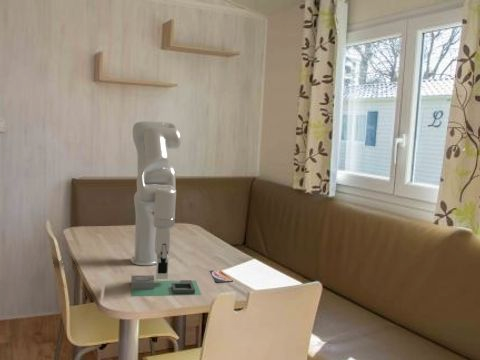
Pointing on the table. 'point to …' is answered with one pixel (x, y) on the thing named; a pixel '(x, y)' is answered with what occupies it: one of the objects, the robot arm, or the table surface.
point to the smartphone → (220, 277)
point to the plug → (161, 275)
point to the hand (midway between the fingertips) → (162, 270)
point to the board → (162, 287)
